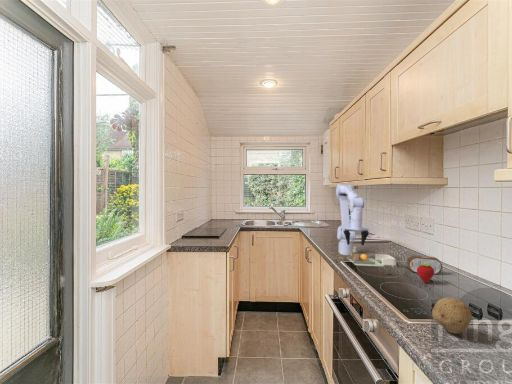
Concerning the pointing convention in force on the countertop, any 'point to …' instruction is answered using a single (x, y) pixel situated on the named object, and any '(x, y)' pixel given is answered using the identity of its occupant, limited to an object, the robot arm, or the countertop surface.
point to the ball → (363, 257)
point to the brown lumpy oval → (452, 315)
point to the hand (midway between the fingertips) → (355, 244)
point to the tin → (418, 260)
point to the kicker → (354, 254)
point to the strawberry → (425, 272)
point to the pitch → (384, 258)
